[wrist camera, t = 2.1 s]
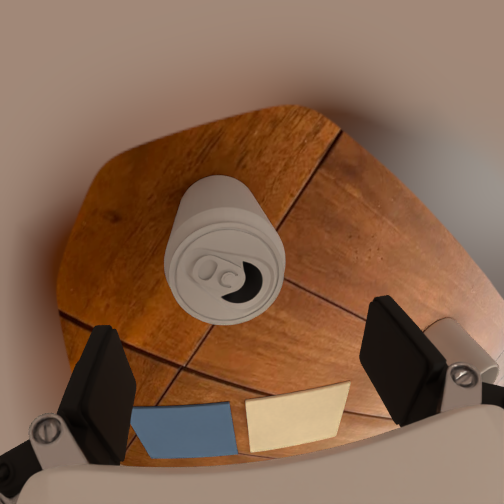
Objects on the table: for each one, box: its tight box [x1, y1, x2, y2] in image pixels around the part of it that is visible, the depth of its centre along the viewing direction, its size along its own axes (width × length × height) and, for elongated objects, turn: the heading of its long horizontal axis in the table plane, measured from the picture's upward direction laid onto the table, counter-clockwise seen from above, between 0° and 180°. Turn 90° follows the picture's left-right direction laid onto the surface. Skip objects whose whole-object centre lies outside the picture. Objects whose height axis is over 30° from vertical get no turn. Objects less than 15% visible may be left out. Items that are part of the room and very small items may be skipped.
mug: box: [424, 318, 499, 384], centre depth 33 cm, size 12×8×11 cm
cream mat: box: [245, 381, 351, 452], centre depth 39 cm, size 14×14×1 cm
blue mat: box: [130, 402, 238, 458], centre depth 37 cm, size 14×14×1 cm
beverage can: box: [164, 175, 285, 325], centre depth 20 cm, size 6×6×12 cm
